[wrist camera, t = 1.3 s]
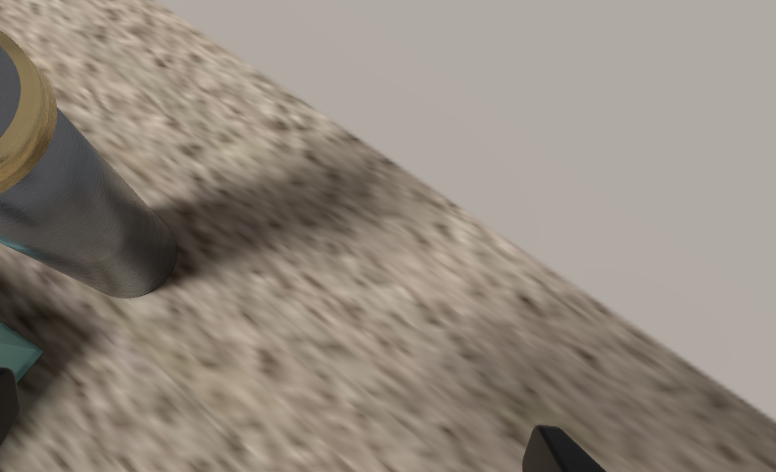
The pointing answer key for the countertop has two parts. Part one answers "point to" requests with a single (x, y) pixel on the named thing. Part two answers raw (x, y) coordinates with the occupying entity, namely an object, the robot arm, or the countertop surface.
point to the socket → (17, 352)
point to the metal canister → (70, 193)
